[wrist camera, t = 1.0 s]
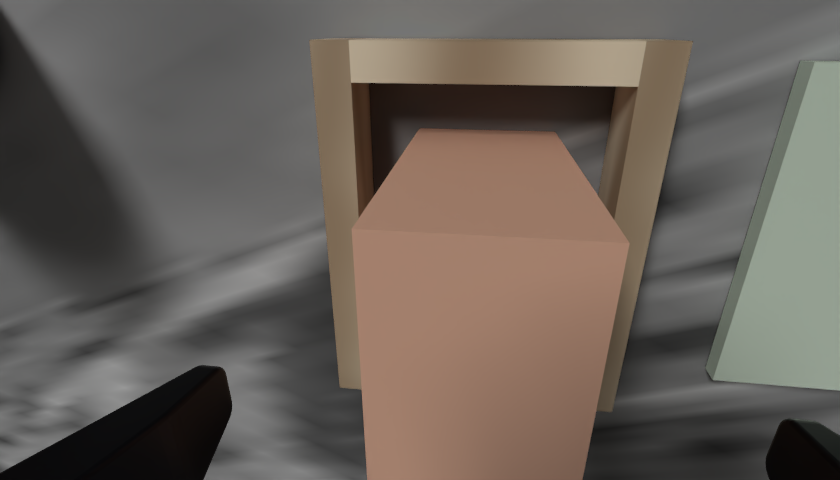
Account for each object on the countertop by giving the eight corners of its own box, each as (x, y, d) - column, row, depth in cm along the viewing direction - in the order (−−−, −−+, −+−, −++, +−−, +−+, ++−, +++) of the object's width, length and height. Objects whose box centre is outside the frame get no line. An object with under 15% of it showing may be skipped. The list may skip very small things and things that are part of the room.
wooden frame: (663, 39, 12) (693, 41, 11) (598, 371, 17) (611, 412, 15) (333, 38, 14) (309, 39, 12) (354, 351, 18) (340, 387, 16)
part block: (554, 131, 14) (629, 243, 7) (534, 306, 16) (572, 527, 9) (420, 128, 14) (352, 228, 7) (419, 298, 17) (369, 502, 10)
